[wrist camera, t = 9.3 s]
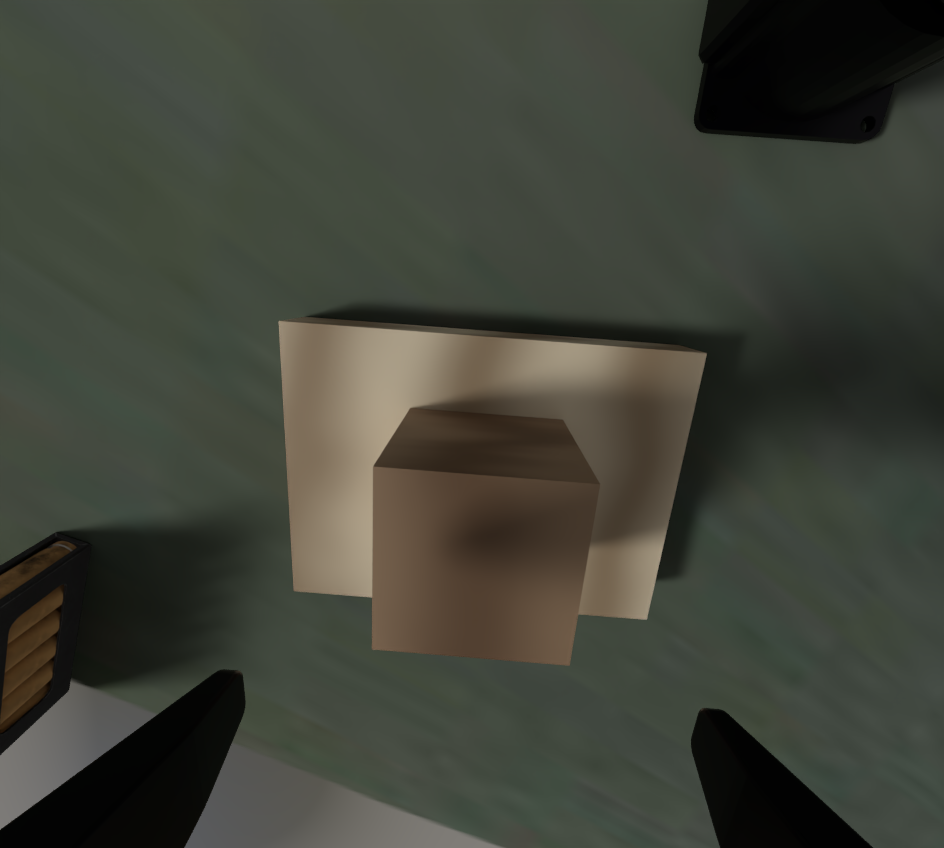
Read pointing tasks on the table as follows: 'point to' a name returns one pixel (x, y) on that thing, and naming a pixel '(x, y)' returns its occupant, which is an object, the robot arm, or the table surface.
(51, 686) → the ammunition clip
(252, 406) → the table surface
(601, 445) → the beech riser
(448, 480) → the walnut cube
